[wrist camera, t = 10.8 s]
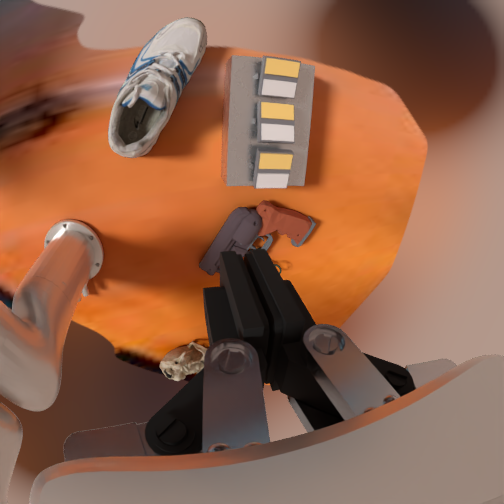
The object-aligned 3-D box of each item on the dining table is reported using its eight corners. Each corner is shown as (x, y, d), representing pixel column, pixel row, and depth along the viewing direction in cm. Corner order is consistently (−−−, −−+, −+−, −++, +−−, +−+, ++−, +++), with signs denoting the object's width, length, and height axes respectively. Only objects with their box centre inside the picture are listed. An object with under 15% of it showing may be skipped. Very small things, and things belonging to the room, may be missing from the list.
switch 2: (291, 144, 35) (295, 143, 34) (257, 142, 34) (260, 141, 33) (290, 106, 33) (295, 103, 32) (257, 103, 32) (260, 100, 31)
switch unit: (291, 176, 46) (307, 187, 40) (221, 176, 43) (227, 188, 37) (299, 70, 37) (319, 65, 31) (225, 62, 34) (233, 53, 28)
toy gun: (308, 213, 51) (243, 181, 44) (320, 229, 47) (251, 196, 40) (258, 278, 59) (195, 260, 51) (265, 296, 55) (198, 279, 47)
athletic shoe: (217, 31, 31) (205, 1, 20) (172, 162, 40) (145, 177, 30) (159, 22, 29) (131, -4, 18) (118, 149, 39) (79, 161, 28)
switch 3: (284, 184, 39) (287, 189, 38) (252, 184, 38) (254, 189, 37) (290, 149, 35) (294, 153, 34) (257, 148, 34) (259, 152, 33)
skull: (168, 346, 51) (170, 390, 50) (241, 340, 62) (240, 379, 61) (154, 337, 58) (156, 377, 57) (220, 334, 69) (221, 370, 68)
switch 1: (291, 97, 33) (295, 99, 32) (257, 93, 32) (260, 95, 31) (297, 60, 29) (301, 61, 28) (262, 55, 28) (265, 56, 27)
